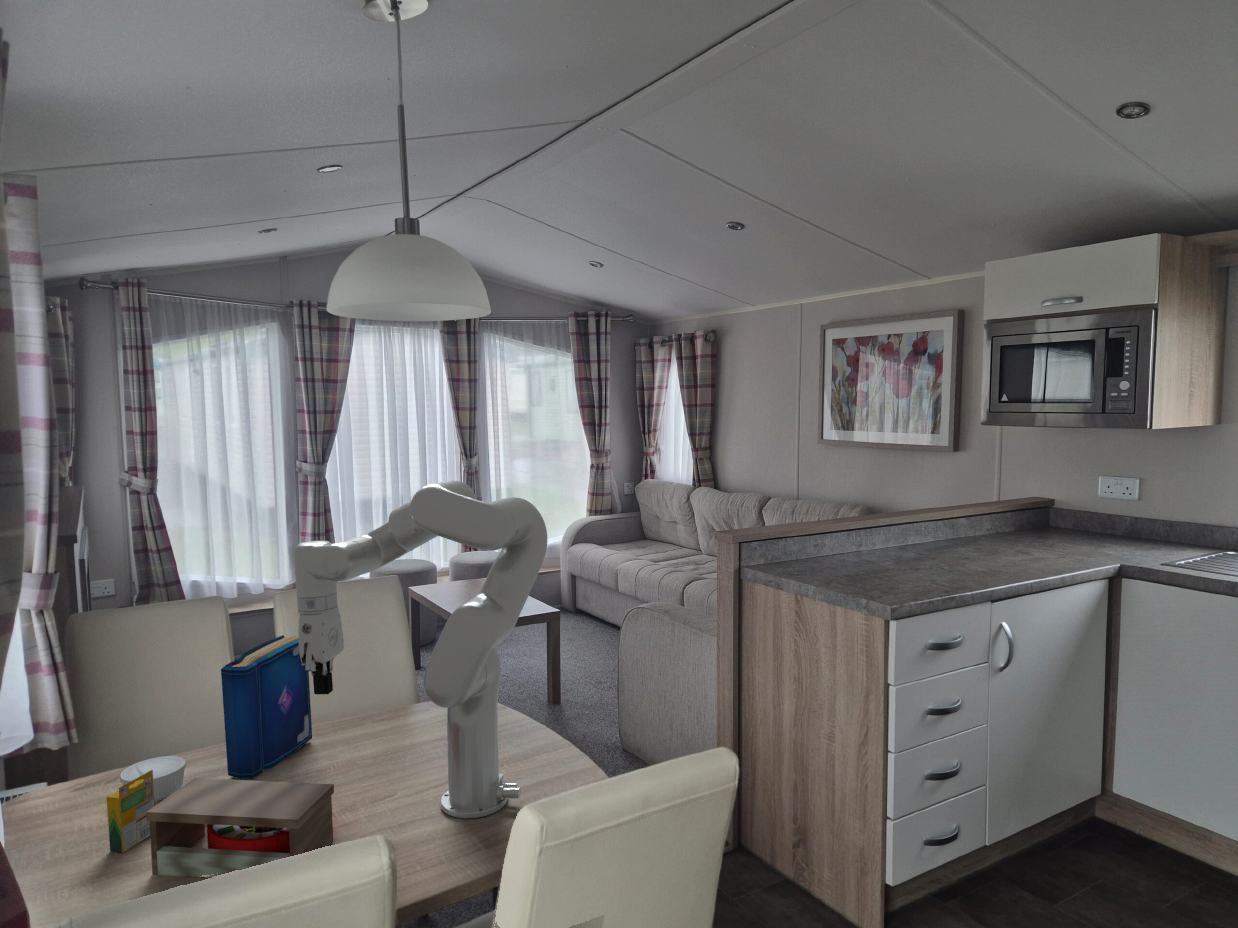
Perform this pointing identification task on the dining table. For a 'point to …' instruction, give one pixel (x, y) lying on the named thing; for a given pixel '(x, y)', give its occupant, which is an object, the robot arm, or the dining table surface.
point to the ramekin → (158, 774)
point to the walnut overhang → (236, 822)
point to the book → (265, 706)
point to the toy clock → (248, 838)
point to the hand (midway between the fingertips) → (323, 692)
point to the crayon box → (130, 813)
